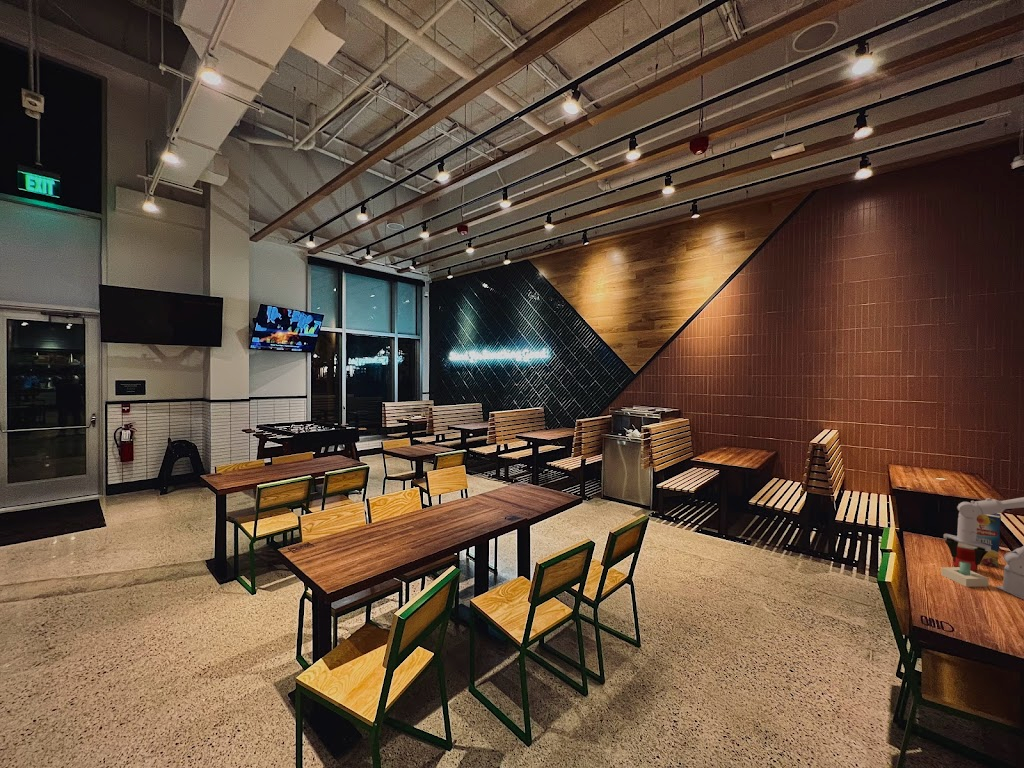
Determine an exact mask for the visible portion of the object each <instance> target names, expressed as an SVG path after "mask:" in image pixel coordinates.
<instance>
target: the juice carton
mask: <svg viewBox="0 0 1024 768" xmlns="http://www.w3.org/2000/svg"><path fill="white" fill-rule="evenodd" d="M1001 519H1002V517H1001V514H1000V513H995V514H987V515H979V516H978V517H977V537H976V541H978V542H980V543H983V544H985V545H988V546H991V551H988V552H987V553H986V554H985V555H984V557H983V558H982V560H981V562H980V564H979V565H981V566H982V565H983V566H985V567H986V566H987V567H990V568H995V569H998V568H999V567H998V565H999V553H1000V551H999V550H1000V534H1001Z"/></svg>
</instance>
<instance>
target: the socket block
mask: <svg viewBox="0 0 1024 768" xmlns="http://www.w3.org/2000/svg"><path fill="white" fill-rule="evenodd" d="M959 571H960V567H955V566H953V567H950V566H949V567H943V566H942V567H941V572H940V573H941V576H942V577H945V578H946V579H949V580H951V581H953V582H955V583H957V584H959V585H962V586H963V587H966V588H967V587H968V588H973V587H989V582H990V581H989V580H990V579H989V577H987V576H984V575H982V574H980V573H977V572H976V571H971V570H970V576H965V575H963V574H961V573H959Z"/></svg>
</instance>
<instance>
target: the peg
mask: <svg viewBox="0 0 1024 768" xmlns="http://www.w3.org/2000/svg"><path fill="white" fill-rule="evenodd" d="M970 568H971V564H970V563H968V562H965V561H960V571H959V573H961V574H963V575H965V576H970Z"/></svg>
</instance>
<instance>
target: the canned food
mask: <svg viewBox="0 0 1024 768" xmlns="http://www.w3.org/2000/svg"><path fill="white" fill-rule="evenodd" d="M976 548H977V547H974V546H970V545H967V544H963V543H960V542H958V546H957V556H956V557H952V565H953V567H960V561H965V562H968V563H970V564H971V568H970V570H971V571H973V572H977V570H978V567H979V566H978V565H976V564H975V551H974V549H976Z"/></svg>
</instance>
